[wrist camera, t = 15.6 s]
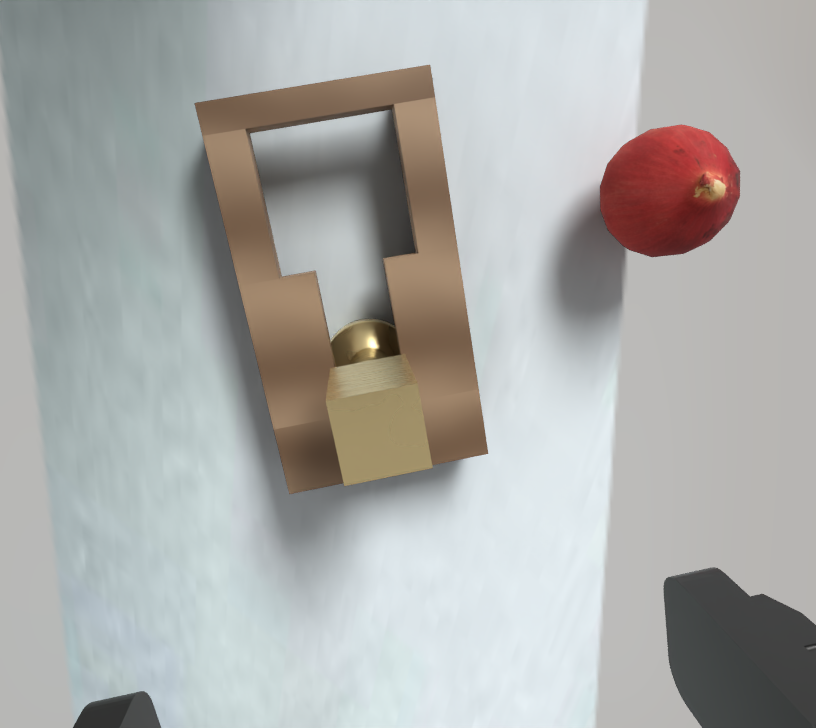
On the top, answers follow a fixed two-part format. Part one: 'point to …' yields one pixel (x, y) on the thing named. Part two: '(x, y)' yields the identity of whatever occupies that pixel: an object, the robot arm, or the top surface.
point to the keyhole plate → (300, 295)
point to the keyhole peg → (374, 405)
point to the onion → (669, 191)
